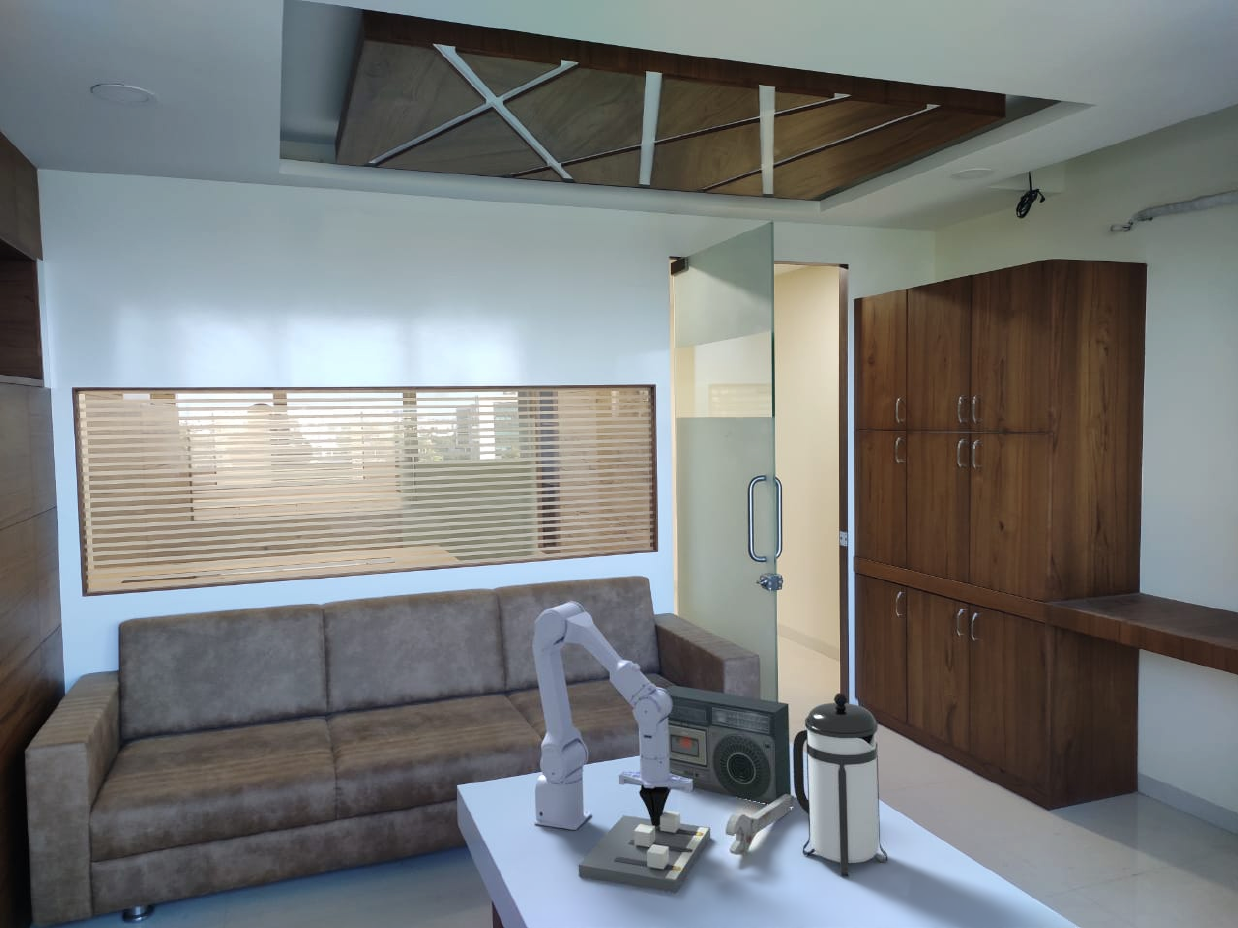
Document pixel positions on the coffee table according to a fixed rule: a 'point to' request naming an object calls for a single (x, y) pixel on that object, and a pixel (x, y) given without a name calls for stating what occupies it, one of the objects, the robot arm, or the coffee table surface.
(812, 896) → the coffee table surface
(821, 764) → the coffee press
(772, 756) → the cassette player
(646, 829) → the white cube
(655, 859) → the switch tab
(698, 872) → the coffee table surface
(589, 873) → the switch board
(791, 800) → the wrench
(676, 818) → the switch tab
